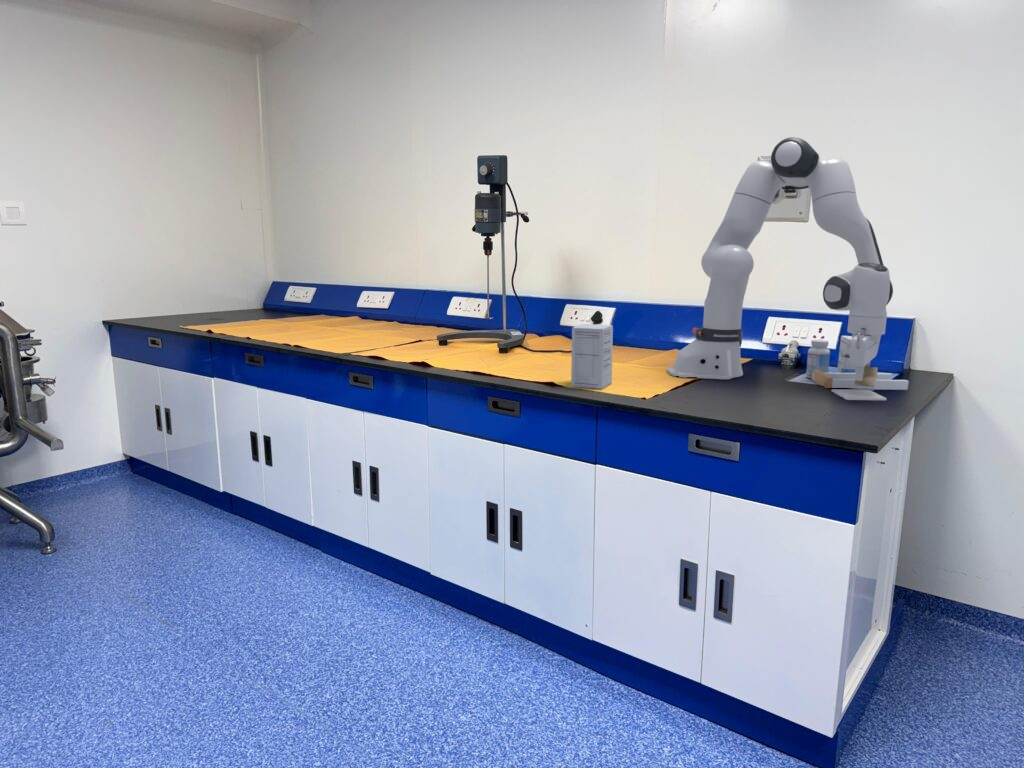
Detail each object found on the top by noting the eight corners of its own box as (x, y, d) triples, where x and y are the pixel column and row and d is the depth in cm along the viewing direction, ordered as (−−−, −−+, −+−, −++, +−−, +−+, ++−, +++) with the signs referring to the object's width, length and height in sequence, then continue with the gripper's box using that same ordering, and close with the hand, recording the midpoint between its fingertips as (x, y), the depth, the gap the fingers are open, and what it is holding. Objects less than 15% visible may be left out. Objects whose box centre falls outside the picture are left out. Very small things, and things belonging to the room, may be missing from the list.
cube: (854, 385, 184) (856, 368, 183) (857, 382, 188) (858, 365, 187) (873, 387, 182) (875, 370, 181) (875, 384, 185) (877, 367, 184)
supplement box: (612, 383, 200) (614, 324, 197) (602, 389, 192) (604, 328, 188) (580, 380, 204) (582, 323, 200) (569, 386, 196) (571, 326, 192)
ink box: (861, 378, 208) (865, 339, 206) (843, 378, 209) (847, 339, 207) (853, 373, 216) (857, 335, 214) (836, 372, 217) (840, 335, 215)
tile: (846, 399, 181) (846, 397, 181) (831, 391, 191) (831, 389, 191) (886, 400, 181) (886, 398, 180) (868, 392, 190) (869, 389, 190)
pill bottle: (826, 376, 211) (830, 339, 209) (828, 380, 205) (832, 342, 203) (805, 375, 213) (808, 338, 211) (806, 379, 207) (809, 341, 205)
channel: (826, 388, 194) (827, 377, 194) (811, 380, 205) (812, 369, 204) (907, 389, 193) (909, 378, 192) (888, 381, 204) (890, 371, 203)
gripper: (873, 331, 172) (867, 386, 175) (886, 323, 188) (880, 373, 191) (845, 330, 176) (840, 383, 178) (860, 321, 192) (855, 371, 195)
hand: (861, 378), depth 185 cm, fingers closed on cube, 4 cm apart
